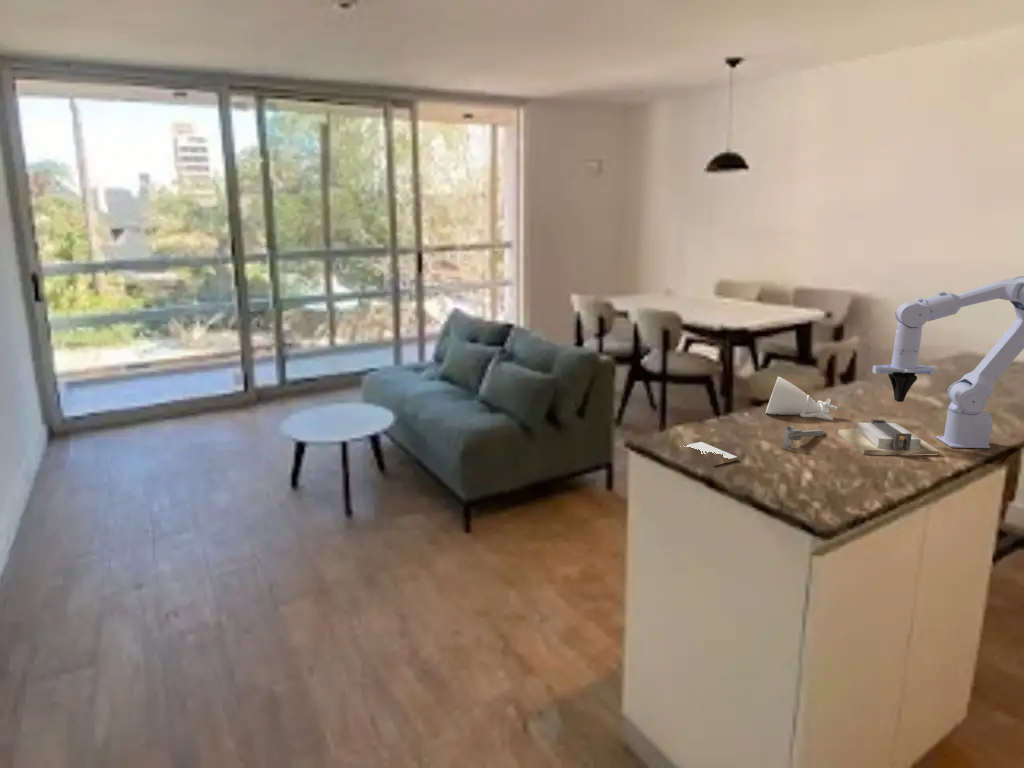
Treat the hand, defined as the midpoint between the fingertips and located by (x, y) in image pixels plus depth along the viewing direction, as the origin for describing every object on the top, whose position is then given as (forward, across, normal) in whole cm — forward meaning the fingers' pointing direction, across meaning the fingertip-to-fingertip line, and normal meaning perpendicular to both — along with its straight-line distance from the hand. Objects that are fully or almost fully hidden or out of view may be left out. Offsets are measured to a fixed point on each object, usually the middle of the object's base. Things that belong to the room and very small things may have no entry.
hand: (898, 400), depth 181 cm
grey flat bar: (+7, -4, -6) cm, 10 cm away
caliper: (+11, -24, -3) cm, 26 cm away
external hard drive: (+11, -51, -15) cm, 55 cm away
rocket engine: (+11, -19, +19) cm, 29 cm away
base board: (+10, -4, -4) cm, 12 cm away
